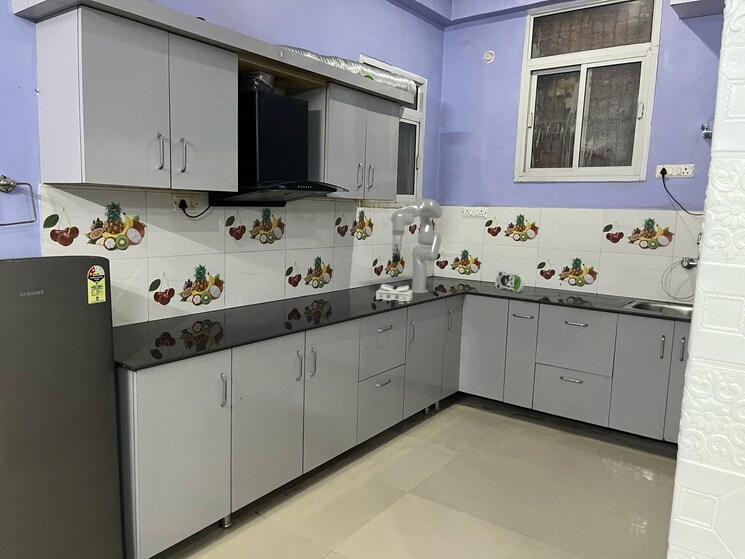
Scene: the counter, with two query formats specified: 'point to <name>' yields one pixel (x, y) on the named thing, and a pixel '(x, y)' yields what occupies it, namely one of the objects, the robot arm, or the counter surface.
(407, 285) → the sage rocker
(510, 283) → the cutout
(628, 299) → the counter surface
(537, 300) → the counter surface
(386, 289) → the slate rocker
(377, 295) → the switch box
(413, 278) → the robot arm
